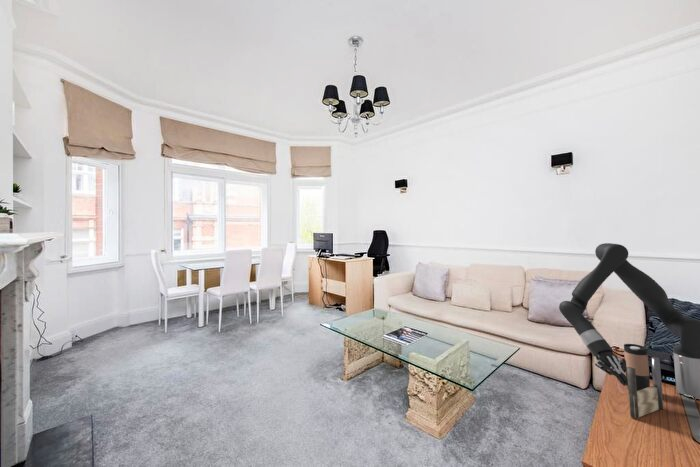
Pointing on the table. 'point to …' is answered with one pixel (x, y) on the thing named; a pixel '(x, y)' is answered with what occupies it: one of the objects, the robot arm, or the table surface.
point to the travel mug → (638, 364)
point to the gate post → (657, 380)
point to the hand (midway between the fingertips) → (627, 384)
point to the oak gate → (640, 397)
